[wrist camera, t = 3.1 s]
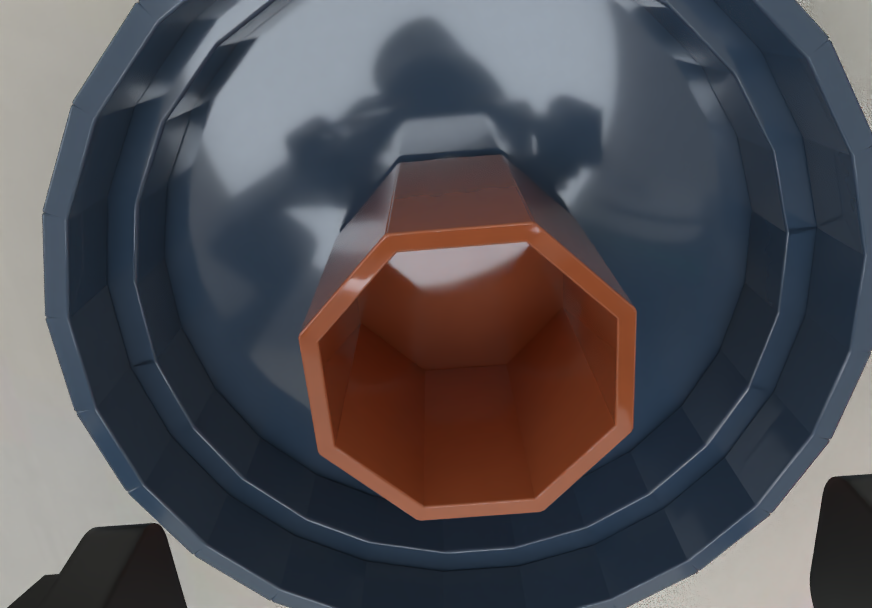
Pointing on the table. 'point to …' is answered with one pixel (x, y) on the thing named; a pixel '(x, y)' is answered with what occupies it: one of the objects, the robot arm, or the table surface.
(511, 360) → the small cup
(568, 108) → the big bowl
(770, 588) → the table surface
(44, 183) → the table surface
